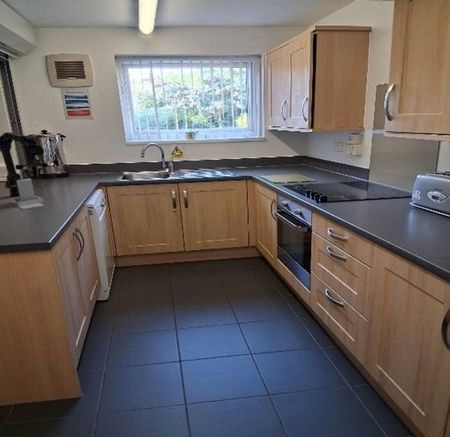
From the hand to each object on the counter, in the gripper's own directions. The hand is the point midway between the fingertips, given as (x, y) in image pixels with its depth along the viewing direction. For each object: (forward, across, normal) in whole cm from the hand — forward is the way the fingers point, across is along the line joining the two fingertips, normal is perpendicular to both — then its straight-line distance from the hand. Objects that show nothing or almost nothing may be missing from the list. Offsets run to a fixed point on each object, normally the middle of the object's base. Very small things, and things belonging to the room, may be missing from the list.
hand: (34, 178), depth 238 cm
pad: (+13, -8, -26) cm, 30 cm away
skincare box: (+13, -7, -13) cm, 20 cm away
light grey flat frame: (+13, -8, -9) cm, 18 cm away
